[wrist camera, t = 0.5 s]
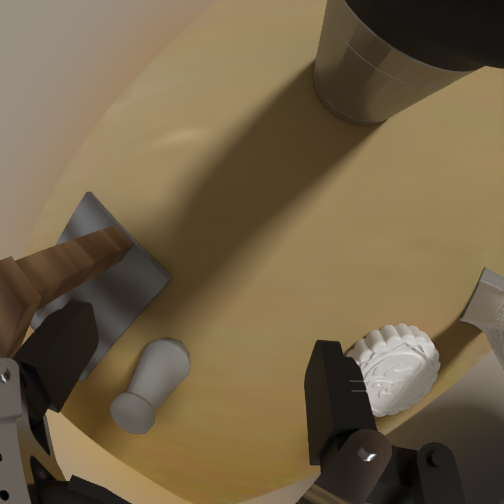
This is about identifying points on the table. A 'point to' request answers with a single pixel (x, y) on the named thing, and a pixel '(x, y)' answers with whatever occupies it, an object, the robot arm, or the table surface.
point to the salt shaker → (151, 384)
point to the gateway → (80, 280)
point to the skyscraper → (488, 310)
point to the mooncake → (396, 367)
